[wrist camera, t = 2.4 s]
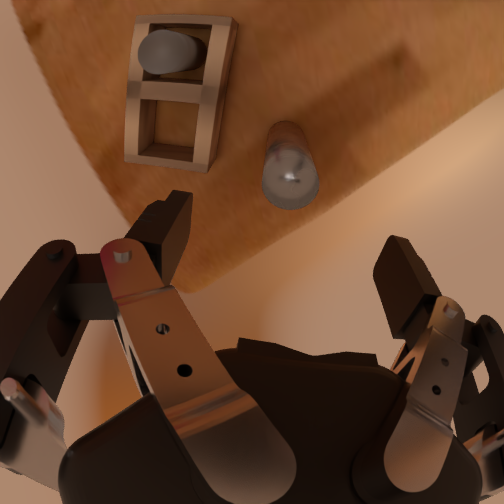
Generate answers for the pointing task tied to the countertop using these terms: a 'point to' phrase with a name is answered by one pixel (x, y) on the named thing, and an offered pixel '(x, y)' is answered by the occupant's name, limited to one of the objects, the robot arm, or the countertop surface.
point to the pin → (289, 168)
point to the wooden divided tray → (177, 86)
